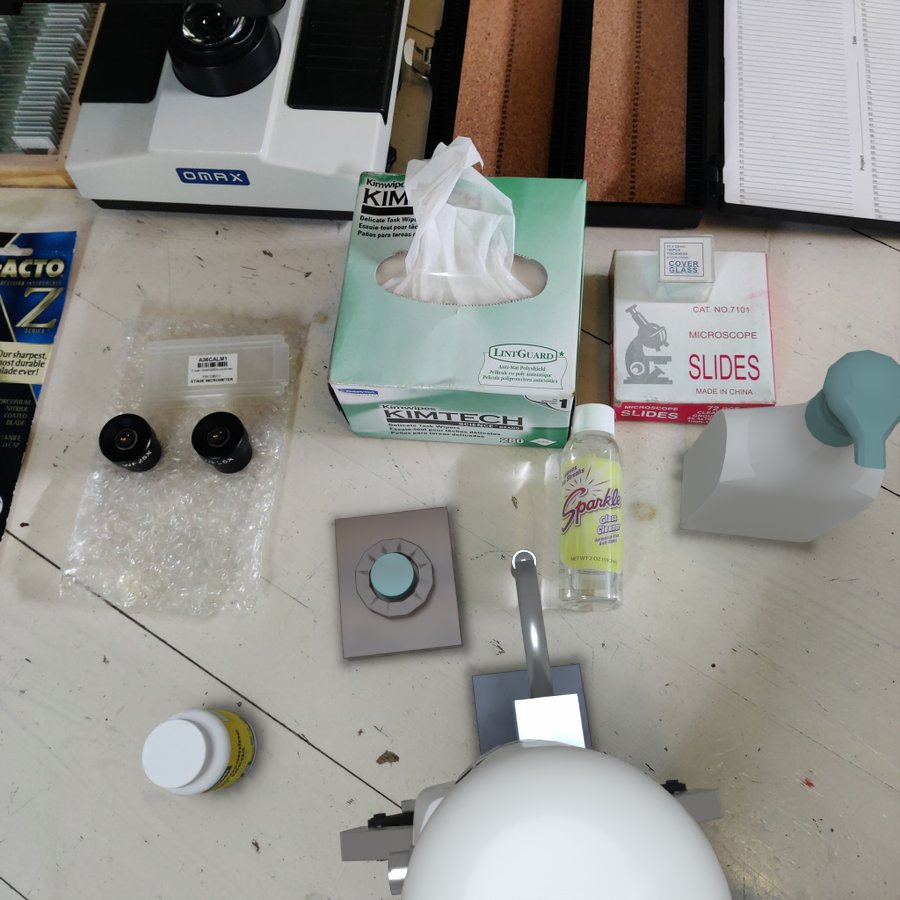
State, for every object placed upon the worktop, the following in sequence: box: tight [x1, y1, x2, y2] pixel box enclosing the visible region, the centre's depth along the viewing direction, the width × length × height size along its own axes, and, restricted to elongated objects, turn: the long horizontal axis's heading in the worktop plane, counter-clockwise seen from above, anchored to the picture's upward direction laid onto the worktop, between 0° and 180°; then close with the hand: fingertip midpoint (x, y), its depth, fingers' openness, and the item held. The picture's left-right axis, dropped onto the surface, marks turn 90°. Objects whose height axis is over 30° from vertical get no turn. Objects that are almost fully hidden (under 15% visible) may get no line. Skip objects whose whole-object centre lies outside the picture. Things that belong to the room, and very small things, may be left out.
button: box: [370, 553, 416, 599], centre depth 67 cm, size 4×4×2 cm
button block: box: [334, 506, 464, 661], centre depth 70 cm, size 12×10×4 cm
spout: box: [510, 548, 586, 748], centre depth 49 cm, size 13×4×6 cm, turn 6°
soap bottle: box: [679, 349, 900, 544], centre depth 59 cm, size 11×8×27 cm
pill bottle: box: [141, 708, 258, 797], centre depth 63 cm, size 6×6×11 cm
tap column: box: [471, 663, 594, 756], centre depth 58 cm, size 9×9×19 cm
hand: (524, 807), depth 44 cm, fingers open, 9 cm apart
